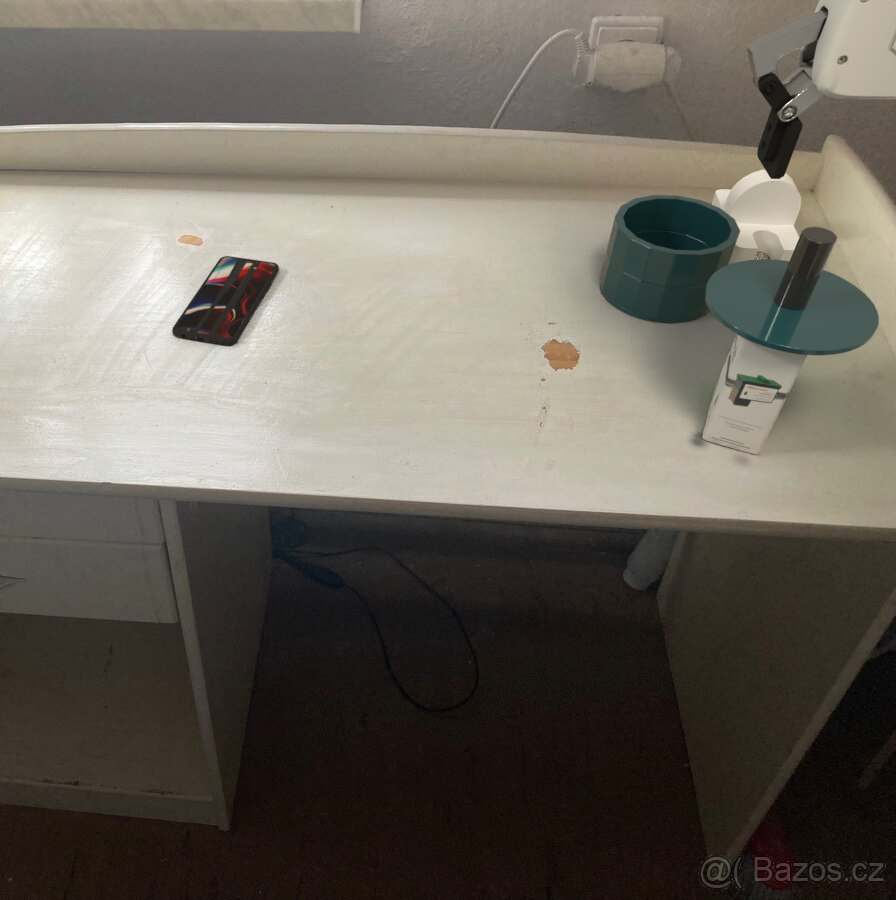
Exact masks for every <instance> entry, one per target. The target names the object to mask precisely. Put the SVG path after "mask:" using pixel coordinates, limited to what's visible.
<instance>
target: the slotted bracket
mask: <svg viewBox="0 0 896 900" xmlns="http://www.w3.org/2000/svg"><path fill="white" fill-rule="evenodd" d="M710 204H711V205H714V206H716V207H719V208H720V209H722V210H723V211H725V212H726V213H727V214H729V215H730V216H731V217H732V218H734V219H735V221H736V223H737V225H738V227H739V229H740V234H739V236H738V239H737V242H736V245H735V247H734V250H733V253H732V256H731V258H730V261H729V264H728V265H730V264H733V263H736V262H740V261H746V260H755V258H756V255H757V252H758V253H762V254H765V255H767V256H768V257H769V259H773V260H784V261H790V259H791V256H792V254H793V252H794V249H795V247H796V244H797V242H798V240H799V237H800V235H799V234H798V231H797V229H796V228H795V223H796V222H797V218H798V216H799V214H800V211H801V207H802V196H801V194H800V191H799V190H798V188H797V186H796V184H795V182H794V180H793V178H792V177H791V176H790V175H789V174H787V173H785V175H784V177H781V178H780V179H771V178H770V176H769V175H768V173H767V172H766V170H765V169H760V170H757V171H753V172H751V173H749V174H747V175H745V176H744V177H742V178H741V179H740V180H738V181H737V182H736V183H735V184H734V185H733V186H732V188H731V189H725V188H723V189H721V188H720V189H717V190H716V191H715V193H714V195H713V199H712V202H711V203H710Z"/></svg>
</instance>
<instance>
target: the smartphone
mask: <svg viewBox="0 0 896 900" xmlns="http://www.w3.org/2000/svg"><path fill="white" fill-rule="evenodd" d="M279 271H280V266H279V264H278V263H276V262H273V261H265V260H258V259H252V258H246V257H245V258H244V257H237V256H232V255H225V256H221V257H220V258H219V259H218V260H217V262H216V264H215V265H214V266H213V268H212V269H211V271H210V272H209V274H208V275H207V277H206V278H205V280H204V281H203V283H202V284H201V285H200V287H199V288H198V290H197V291H196V293H195V294H194V296H193V297H192V299H191V300H190V302H189V303H188V304H187V306H186V307H185V309H184V310H183V312H182V313H181V315H180V316H179V317H178V319H177V321H176V322H175V323H174V324H173V327H172V329H171V332H172V335H173V336H174V337H177V338H181V339H187V340H193V341H199V342H206V343H210V344H211V343H212V344H216V345H222V346H223V345H224V346H232V345H235V344H236V343H237V342H238V340H239V339H240V337H241V335H242V334H243V332H244V330H245V329H246V327H247V325H248V324H249V322H250V320H251V319H252V317H253V315H254V313H255V312H256V310H257V309H258V306H259V305H260V303H261V302H262V300H263V299H264V297H265V295H266V293H268V291H269V290H270V287H271V285H272V282H273V281H274V279H275V278H276V276H277V274H278V273H279Z"/></svg>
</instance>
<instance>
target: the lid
mask: <svg viewBox="0 0 896 900" xmlns="http://www.w3.org/2000/svg"><path fill="white" fill-rule="evenodd" d="M837 240H838V236H837V235H836V233H835V232H833V231H832V230H830V229H828V228H825V227H821V226H809V227H806V228H804V229H802V230H801V233H800V235H799V240H798V242H797V244H796V247H795V249H794V252H793V254H792V256H791V259H790V261H784V260H773V259H770V258H758V259H754V260H746V261H740V262H736V263H733V264H730V265H727V266H725V267H723V268H721V269H719V270H718V271H716V272H715V273H714V274H713V275H712V276H711V277H710V279H709V280H708V282H707V285H706V288H705V301H706V304H707V306H708V308H709V310H710V311H709V312H710V313H711V314H712V316H713V317H714V318H715V319H716V320H717V321H718V322H719V323H720V324H721V325H723V326H724V327H725V328H726V329H727V330H729V331H731V332H733V333H734V334H735V335H739V336H741V337H743V338H745V339H747V340H749V341H752V342H754V343H757V344H759V345H762V346H765V347H768V348H771V349H775V350H779V351H783V352H788V353H794V354H802V355H807V356H834V355H839V354H844V353H849V352H852V351H854V350H857V349H860V348H861V347H862V346H864V345H866V344H867V343H868V342H869V341H870V340H871V339H873V337H874V335H875V334H876V332H877V330H878V327H879V324H880V323H879V321H880V317H879V313H878V312H879V311H878V309H877V308H876V306H875V304H874V303H873V301H872V300H871V298H870V297H868V295H867V294H866V293H865V292H863V291H862V290H861V288H859V287H858V286H856V285H855V284H854V283H852V282H850V281H848V280H847V279H845V278H843V277H840V276H839V275H837V274H834V273H832V272H830V271H827V270H825V266H826V265H827V262H828V260H829V258H830V256H831V253H832V251H833V249H834V247H835V245H836V242H837Z"/></svg>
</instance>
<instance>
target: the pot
mask: <svg viewBox="0 0 896 900" xmlns="http://www.w3.org/2000/svg"><path fill="white" fill-rule="evenodd" d="M711 204H712V203H709V202H706V201H704V200H701V199H697V198H693V197H687V196H682V195H674V194H673V195H672V194H671V195H670V194H651V195H647V196H640V197H635V198H632V199H631V200H630V201H628V202H625V203H624V204H622V205H620V207H618V210H617V212H616V214H615V215H614V219H613V222H612V228H611V231H610V234H609V240H608V244H607V246H606V251H605V256H604V260H603V264H602V268H601V273H600V276H599V289H600V292H601V294H602V296H603V297H604V298H605V300H606V301H607V302H608V303H609V304H610V305H611V306H613V308H615V309H617V310H619V312H622V313H624V314H626V315H628V316H631V317H634V318H636V319H640V320H644V321H647V322H654V323H663V324H676V323H685V322H691V321H694V320H697V319H700V318H702V317H703V316H705V315H707V314H708V313H709V312H711V311H710V310H709V308H708V306H707V304H706V301H705V288H706V285H707V282H708V280H709V279H710V277H711V276H712V275H713V274H714V273H715V272H716V271H718V270H719V269H721V268H723V267H725V266H727V265H728V264H729V261H730V258H731V256H732V253H733V250H734V247H735V245H736V242H737V239H738V236H739V234H740V229H739V227H738V225H737V223H736V221H735V219H734V218H732V217H731V216H730V215H729V214H727V213H726V212H725V211H723V210H722V209H720V208H719V207H716V206H714V205H711Z"/></svg>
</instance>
